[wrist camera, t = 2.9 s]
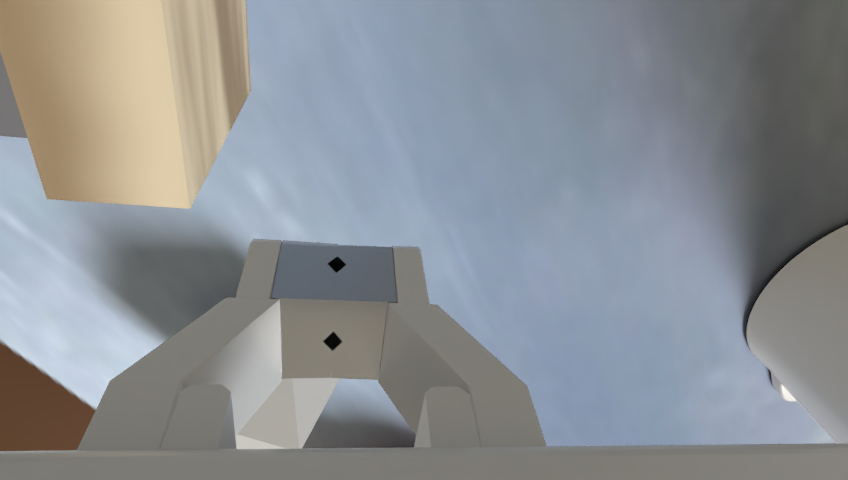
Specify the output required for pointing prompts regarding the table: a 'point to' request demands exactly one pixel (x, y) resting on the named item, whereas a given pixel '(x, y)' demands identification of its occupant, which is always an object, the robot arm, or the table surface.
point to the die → (287, 414)
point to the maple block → (126, 93)
